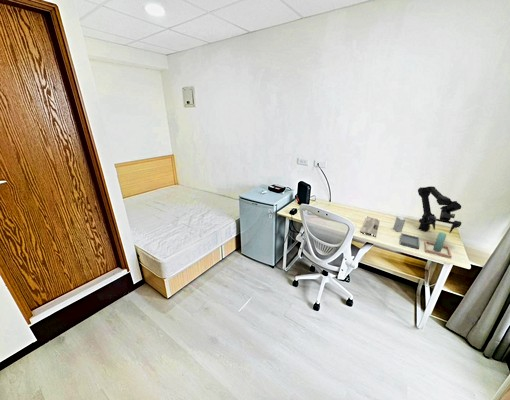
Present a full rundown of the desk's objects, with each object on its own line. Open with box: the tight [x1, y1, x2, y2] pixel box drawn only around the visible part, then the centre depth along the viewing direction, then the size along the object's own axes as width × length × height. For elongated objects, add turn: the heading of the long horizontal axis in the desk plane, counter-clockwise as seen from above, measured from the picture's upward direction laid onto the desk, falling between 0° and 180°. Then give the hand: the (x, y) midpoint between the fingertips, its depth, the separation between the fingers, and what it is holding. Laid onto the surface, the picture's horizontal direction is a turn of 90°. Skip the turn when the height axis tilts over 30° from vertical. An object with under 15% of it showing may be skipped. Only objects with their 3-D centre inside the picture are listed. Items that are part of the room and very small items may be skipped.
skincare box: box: [393, 216, 406, 233], centre depth 188 cm, size 6×4×12 cm
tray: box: [399, 232, 420, 250], centre depth 171 cm, size 16×12×2 cm
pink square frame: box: [424, 240, 453, 259], centre depth 161 cm, size 15×15×2 cm
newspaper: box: [360, 215, 380, 238], centre depth 195 cm, size 35×12×4 cm, turn 147°
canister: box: [432, 232, 447, 253], centre depth 159 cm, size 4×4×14 cm
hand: (441, 231), depth 162 cm, fingers open, 9 cm apart
